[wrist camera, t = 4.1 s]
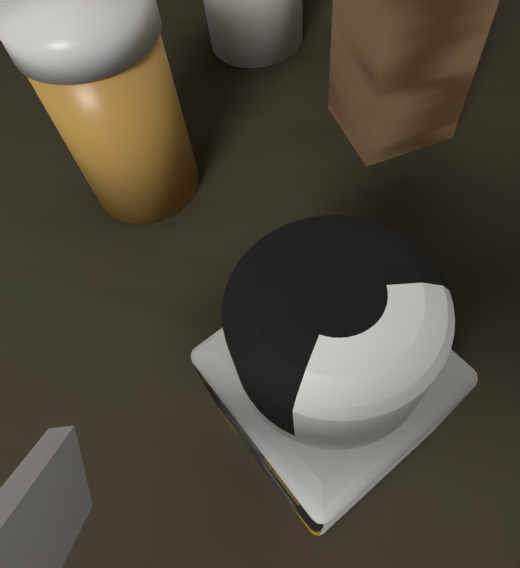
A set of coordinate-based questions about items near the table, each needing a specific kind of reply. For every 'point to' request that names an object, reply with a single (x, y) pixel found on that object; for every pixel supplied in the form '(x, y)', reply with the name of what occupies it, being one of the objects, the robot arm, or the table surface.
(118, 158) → the amber jar
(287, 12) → the white tub
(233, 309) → the medicine bottle
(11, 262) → the table surface
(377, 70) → the walnut block
